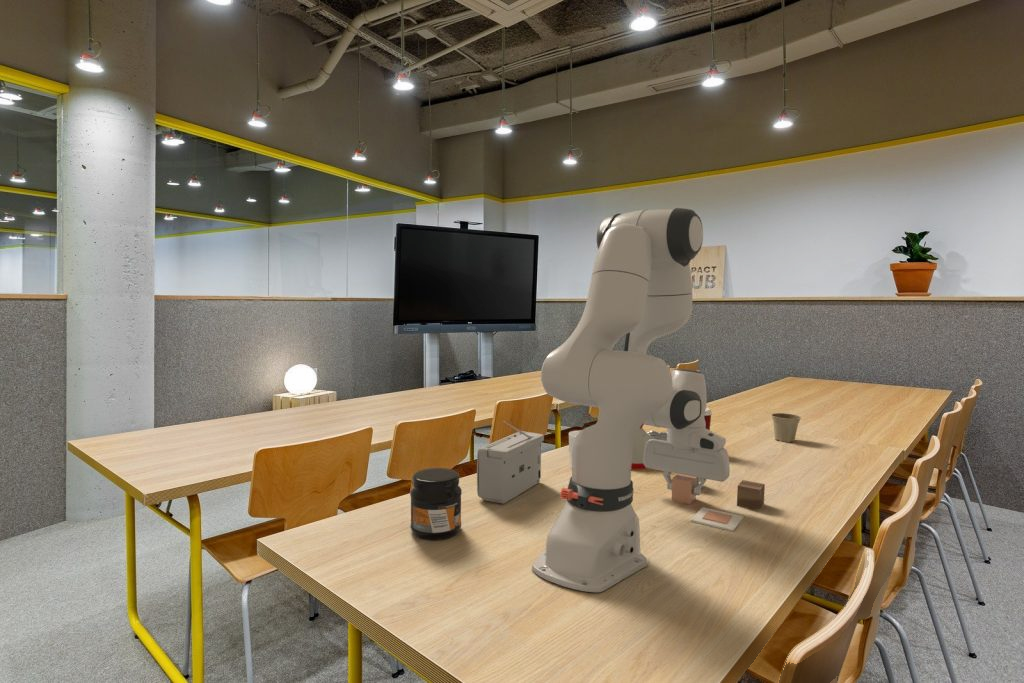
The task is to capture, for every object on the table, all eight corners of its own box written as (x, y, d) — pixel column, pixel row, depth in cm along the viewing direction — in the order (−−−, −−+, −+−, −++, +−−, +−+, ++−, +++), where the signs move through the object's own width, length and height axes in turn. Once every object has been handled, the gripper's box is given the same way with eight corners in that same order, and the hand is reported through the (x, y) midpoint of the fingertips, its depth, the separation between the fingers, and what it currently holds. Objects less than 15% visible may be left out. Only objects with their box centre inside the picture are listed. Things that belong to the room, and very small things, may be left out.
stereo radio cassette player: (518, 477, 152) (518, 404, 150) (545, 482, 147) (546, 407, 146) (475, 501, 133) (475, 418, 132) (504, 507, 129) (505, 422, 128)
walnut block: (759, 510, 129) (760, 489, 129) (736, 506, 132) (737, 485, 132) (763, 504, 133) (764, 484, 133) (741, 500, 136) (742, 479, 136)
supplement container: (441, 546, 109) (441, 486, 108) (399, 534, 114) (399, 477, 113) (471, 527, 118) (471, 471, 117) (431, 517, 123) (431, 464, 122)
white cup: (594, 472, 156) (595, 437, 155) (566, 470, 157) (567, 436, 157) (596, 464, 164) (597, 431, 163) (569, 462, 165) (570, 429, 164)
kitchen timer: (646, 472, 157) (648, 419, 156) (600, 464, 164) (601, 414, 163) (659, 459, 169) (661, 411, 168) (616, 453, 176) (617, 406, 175)
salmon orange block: (690, 504, 133) (690, 482, 132) (671, 500, 135) (672, 478, 135) (695, 499, 136) (696, 477, 136) (677, 495, 139) (678, 473, 138)
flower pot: (805, 443, 190) (806, 418, 189) (777, 443, 190) (778, 418, 189) (791, 437, 199) (793, 413, 199) (765, 436, 199) (766, 412, 199)
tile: (733, 531, 117) (733, 528, 117) (690, 521, 122) (690, 518, 122) (743, 517, 125) (743, 514, 125) (702, 508, 130) (702, 506, 130)
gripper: (639, 431, 138) (638, 486, 139) (725, 445, 126) (723, 504, 127) (649, 427, 143) (647, 480, 144) (732, 439, 131) (730, 496, 132)
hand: (683, 491), depth 136 cm, fingers open, 5 cm apart
